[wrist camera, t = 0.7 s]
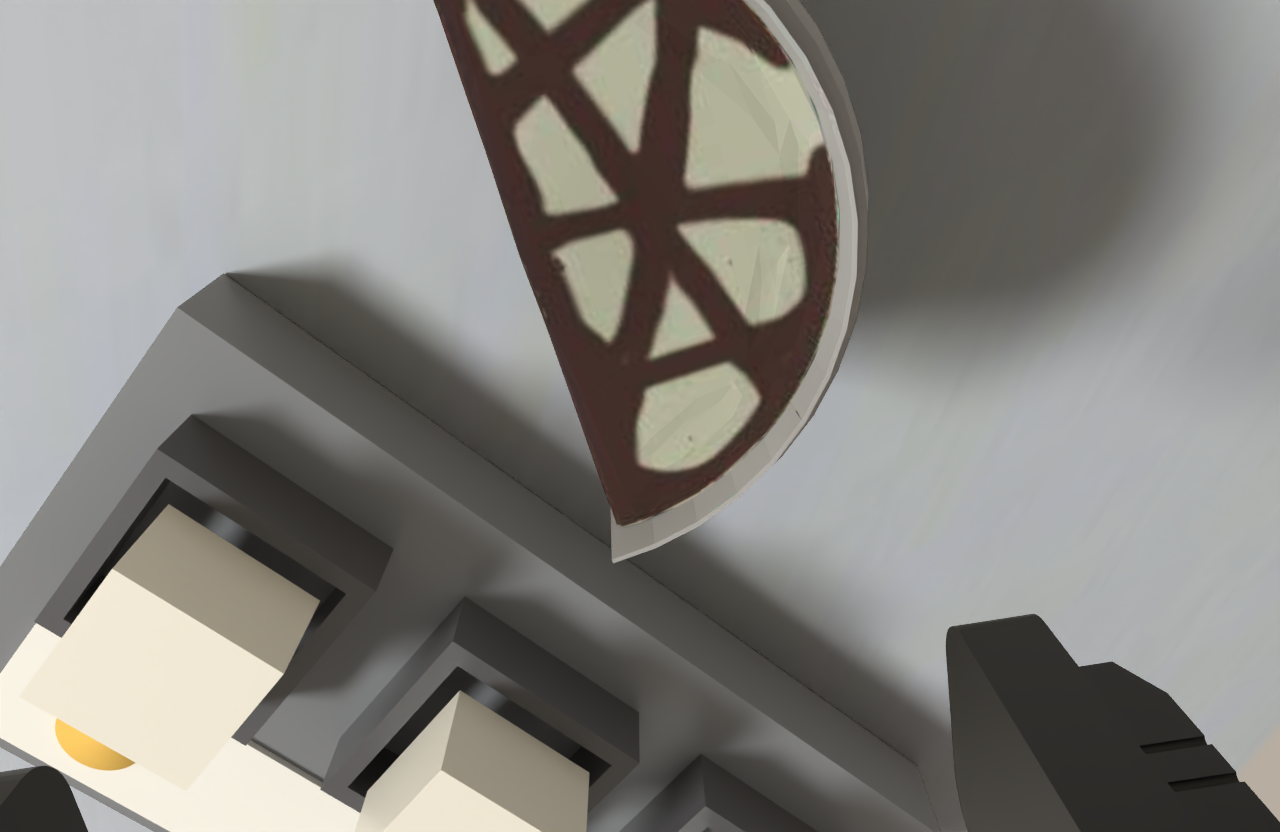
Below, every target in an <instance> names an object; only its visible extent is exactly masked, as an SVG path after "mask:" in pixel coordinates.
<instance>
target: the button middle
mask: <svg viewBox="0 0 1280 832" xmlns="http://www.w3.org/2000/svg"><path fill="white" fill-rule="evenodd" d="M588 790H589V772H587V771H586V770H584V769H583V768H581V767H580V766H578V765H576V764H575V763H573V762H572V761H570V760H569V759H567V758H566V757H564V756H562V755H561V754H559V753H558V752H556V751H555V750H553V749H551V748H550V747H548V746H547V745H545V744H544V743H542V742H540V741H539V740H537V739H536V738H534V737H533V736H531V735H530V734H528V733H526V732H525V731H523V730H522V729H520V728H519V727H517V726H515V725H514V724H512V723H511V722H509V721H508V720H506V719H504V718H503V717H501V716H500V715H498V714H497V713H495V712H493V711H492V710H490V709H489V708H487V707H486V706H484V705H483V704H481V703H479V702H478V701H476V700H475V699H473V698H472V697H470V696H468V695H467V694H465V693H464V692H462V691H461V690H460V691H459V692H458V693H457V694H456V695H455V696H454V697H453V698H452V699H451V701H450V702H449V703H448V704H447V705H446V706H445V707H444V708H443V709H442V710H441V711H440V713H439V714H438V715H437V716H436V717H435V718H434V719H433V720H432V721H431V722H430V723H429V725H428V726H427V727H426V728H425V729H424V730H423V731H422V732H421V733H420V734H419V735H418V737H417V738H416V739H415V740H414V741H413V742H412V743H411V744H410V745H409V746H408V748H407V749H406V750H405V751H404V752H403V753H402V754H401V755H400V756H399V757H398V758H397V760H396V761H395V762H394V763H393V764H392V765H391V766H390V767H389V768H388V769H387V770H386V772H385V773H384V774H383V775H382V776H381V777H380V778H379V779H378V780H377V781H376V782H375V784H374V785H373V786H372V787H371V788H370V789H369V790H368V791H367V794H366V797H365V801H364V804H363V807H362V810H361V813H360V816H359V819H358V822H357V825H356V828H355V832H586V829H587V810H588Z"/></svg>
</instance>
